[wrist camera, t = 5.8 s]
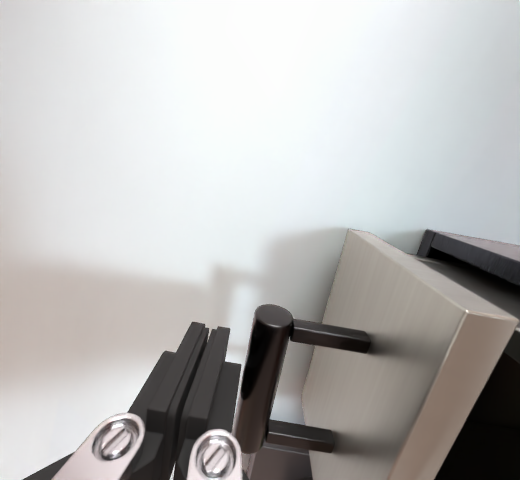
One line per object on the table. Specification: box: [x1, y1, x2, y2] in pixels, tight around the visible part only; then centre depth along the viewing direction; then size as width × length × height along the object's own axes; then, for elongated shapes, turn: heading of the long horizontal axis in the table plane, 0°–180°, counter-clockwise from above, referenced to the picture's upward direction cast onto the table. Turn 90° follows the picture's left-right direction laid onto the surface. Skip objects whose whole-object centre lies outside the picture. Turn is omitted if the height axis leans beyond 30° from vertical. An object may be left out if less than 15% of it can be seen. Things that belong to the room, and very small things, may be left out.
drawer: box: [232, 229, 520, 480], centre depth 10 cm, size 18×11×8 cm, turn 80°
